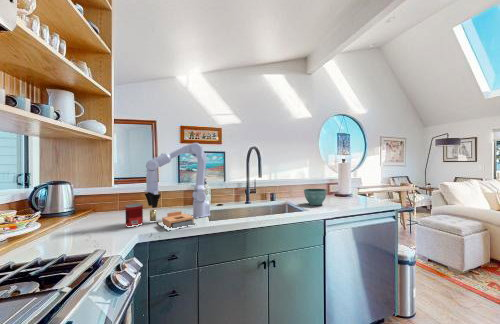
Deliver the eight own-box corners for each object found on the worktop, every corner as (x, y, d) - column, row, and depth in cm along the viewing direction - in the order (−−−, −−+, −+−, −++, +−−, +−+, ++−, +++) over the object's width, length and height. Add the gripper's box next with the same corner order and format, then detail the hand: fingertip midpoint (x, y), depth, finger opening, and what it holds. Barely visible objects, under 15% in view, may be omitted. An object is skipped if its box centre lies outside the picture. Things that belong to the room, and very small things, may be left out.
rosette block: (182, 218, 123) (182, 213, 123) (196, 225, 109) (196, 219, 109) (157, 223, 114) (156, 218, 114) (168, 231, 100) (168, 225, 100)
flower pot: (299, 203, 161) (299, 189, 161) (316, 201, 167) (315, 187, 168) (314, 207, 146) (314, 191, 146) (332, 205, 153) (331, 189, 153)
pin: (155, 221, 119) (154, 208, 119) (156, 222, 117) (156, 209, 117) (149, 222, 117) (149, 209, 117) (150, 223, 115) (150, 210, 115)
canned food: (146, 223, 114) (145, 203, 114) (134, 228, 107) (134, 206, 107) (134, 223, 116) (134, 203, 116) (122, 227, 109) (121, 205, 109)
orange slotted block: (185, 219, 118) (185, 210, 118) (193, 223, 109) (193, 213, 109) (162, 223, 110) (162, 213, 110) (169, 228, 101) (169, 217, 101)
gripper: (141, 181, 120) (141, 205, 120) (147, 183, 109) (148, 209, 109) (154, 180, 125) (154, 204, 124) (162, 182, 113) (162, 207, 113)
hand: (152, 206), depth 117 cm, fingers open, 7 cm apart
